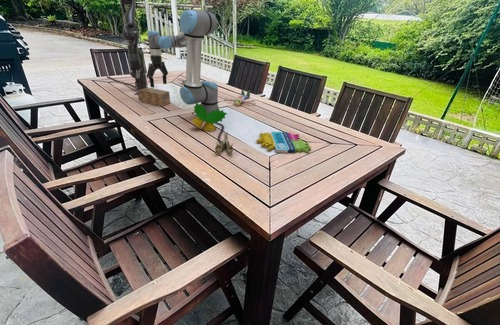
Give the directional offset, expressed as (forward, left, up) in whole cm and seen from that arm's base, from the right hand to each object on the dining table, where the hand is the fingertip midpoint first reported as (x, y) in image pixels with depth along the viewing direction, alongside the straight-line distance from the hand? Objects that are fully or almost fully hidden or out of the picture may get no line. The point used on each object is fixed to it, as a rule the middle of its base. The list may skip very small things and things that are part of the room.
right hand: (158, 85), depth 196 cm
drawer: (+7, +8, -13) cm, 17 cm away
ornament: (-55, -30, -14) cm, 64 cm away
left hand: (+13, +16, -1) cm, 21 cm away
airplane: (+56, -29, -14) cm, 65 cm away
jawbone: (-87, -34, -14) cm, 95 cm away
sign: (-82, -69, -14) cm, 108 cm away
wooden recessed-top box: (+3, +4, -14) cm, 15 cm away
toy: (+2, -65, -14) cm, 67 cm away
